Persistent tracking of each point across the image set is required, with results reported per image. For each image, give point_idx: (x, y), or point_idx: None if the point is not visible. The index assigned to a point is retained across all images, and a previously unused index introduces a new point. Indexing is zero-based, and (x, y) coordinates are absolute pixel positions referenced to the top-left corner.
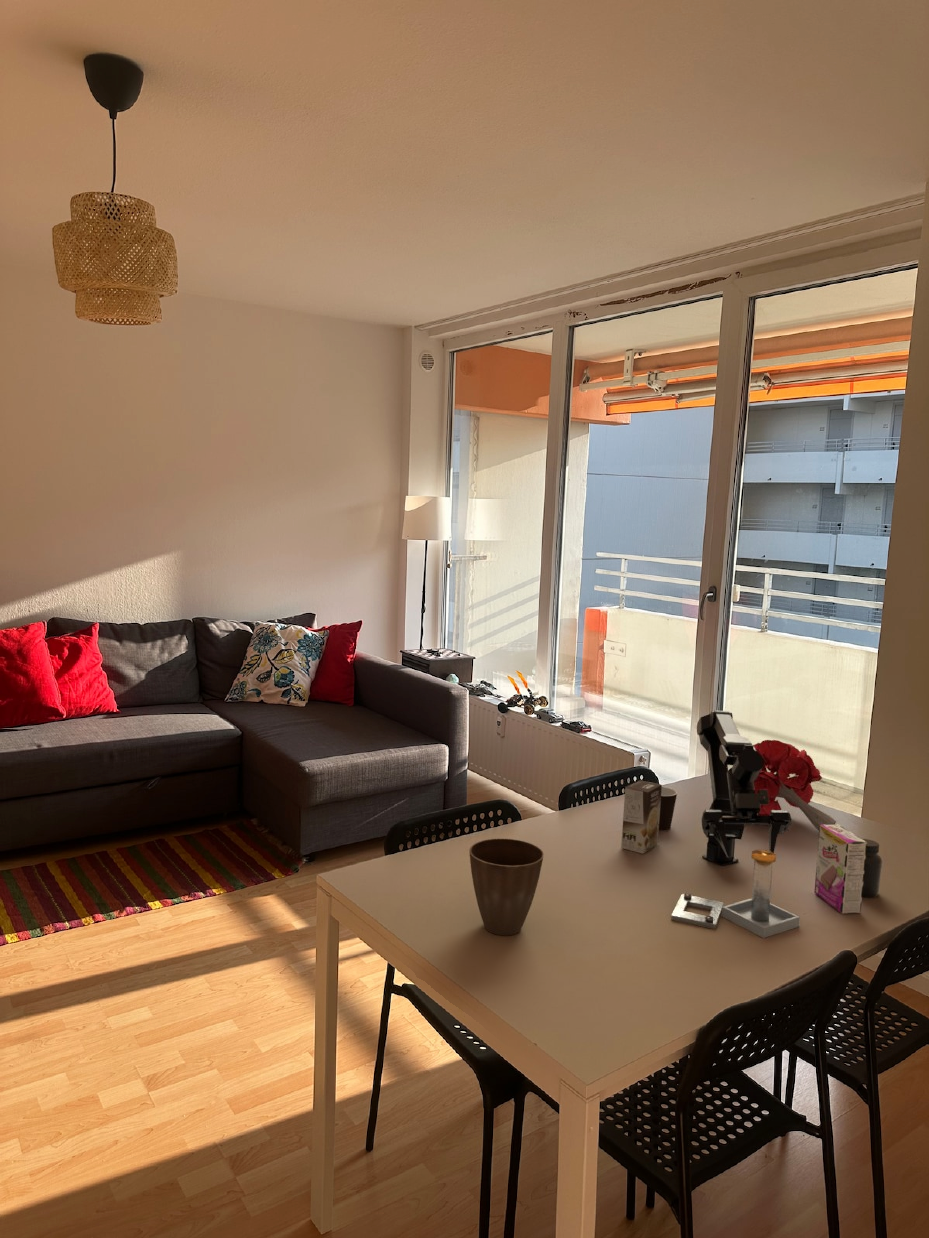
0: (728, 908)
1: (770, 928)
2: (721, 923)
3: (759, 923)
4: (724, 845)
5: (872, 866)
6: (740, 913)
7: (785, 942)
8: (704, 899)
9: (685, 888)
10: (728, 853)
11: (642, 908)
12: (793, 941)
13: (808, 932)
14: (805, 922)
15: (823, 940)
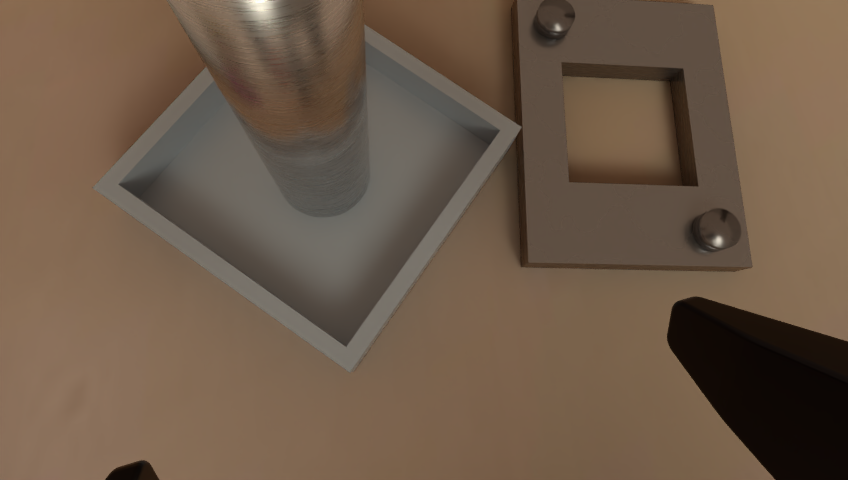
0: (488, 122)
1: None
2: (495, 75)
3: None
4: (844, 346)
5: None
6: (425, 186)
7: None
8: (628, 249)
9: None
10: (705, 305)
11: (840, 74)
12: (164, 33)
13: (79, 157)
14: (81, 275)
15: (11, 101)
